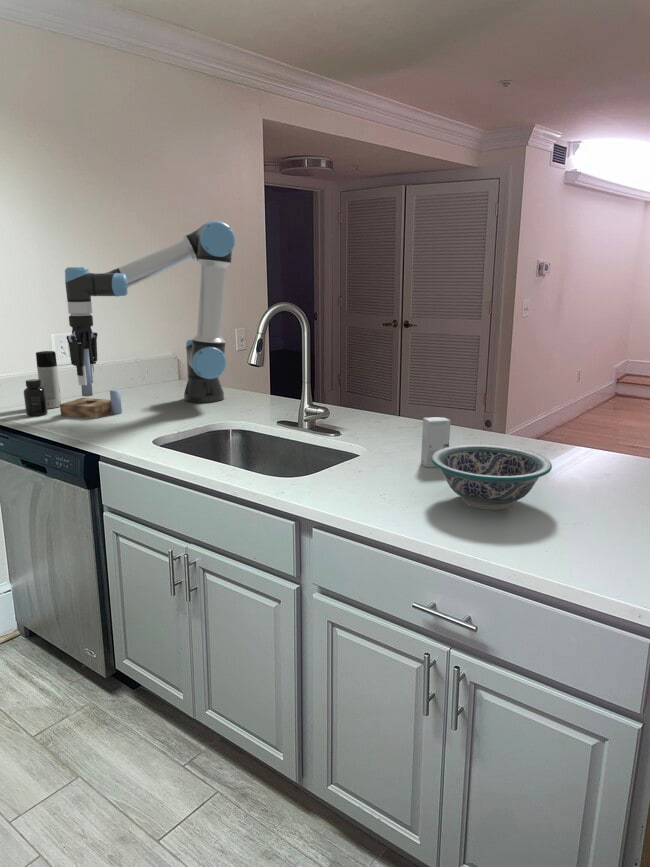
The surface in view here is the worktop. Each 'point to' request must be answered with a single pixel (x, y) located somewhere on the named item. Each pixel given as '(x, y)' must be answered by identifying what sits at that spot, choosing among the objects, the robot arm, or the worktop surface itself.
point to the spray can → (49, 377)
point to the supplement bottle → (35, 398)
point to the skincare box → (434, 438)
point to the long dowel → (87, 375)
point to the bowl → (490, 473)
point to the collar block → (86, 408)
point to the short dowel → (115, 401)
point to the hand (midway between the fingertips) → (86, 383)
